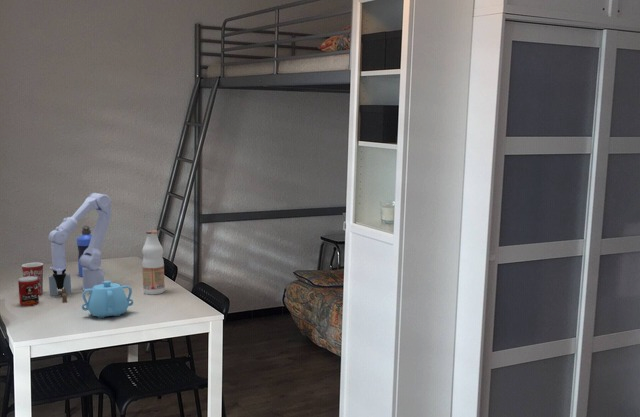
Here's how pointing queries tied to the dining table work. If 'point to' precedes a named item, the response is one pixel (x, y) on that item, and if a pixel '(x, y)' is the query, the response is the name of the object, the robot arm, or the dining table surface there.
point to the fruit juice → (153, 265)
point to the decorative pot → (107, 299)
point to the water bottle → (83, 245)
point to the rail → (64, 295)
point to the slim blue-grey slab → (54, 287)
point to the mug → (34, 273)
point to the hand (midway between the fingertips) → (60, 287)
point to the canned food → (28, 291)
